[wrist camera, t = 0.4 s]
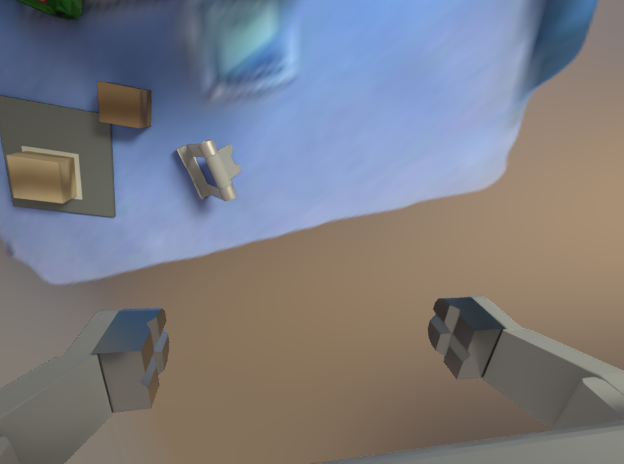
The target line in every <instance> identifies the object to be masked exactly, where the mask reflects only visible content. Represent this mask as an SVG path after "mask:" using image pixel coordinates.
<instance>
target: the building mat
mask: <svg viewBox="0 0 624 464" xmlns="http://www.w3.org/2000/svg"><path fill="white" fill-rule="evenodd" d="M0 134H1V140H2V146H3V151H4V157H5V162H6V168H7V174H8V179H9V185H10V191H11V196H12V202H13V206H20V207H29V208H38V209H47V210H56V211H65V212H74V213H83V214H92V215H101V216H110V217H115V216H116V215H115V194H114V173H113V152H112V130H111V123H105V122H100V121H99V113H95V112H90V111H84V110H79V109H73V108H68V107H62V106H56V105H51V104H45V103H40V102H34V101H29V100H23V99H18V98H12V97H7V96H1V95H0ZM23 151H32V152H39V153H46V154H53V155H60V156H66V157H73V158H74V163H75V174H76V185H77V195H78V196H76V197H74V198H72V199H70V200H68V201H66V202H65V203H55V202H46V201H38V200H29V199H21V198H14V196H13V190H12V184H11V179H10V173H9V167H8V161H7V156H6V155H9V154H14V153H19V152H23Z"/></svg>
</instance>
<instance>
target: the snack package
mask: <svg viewBox="0 0 624 464" xmlns="http://www.w3.org/2000/svg"><path fill="white" fill-rule="evenodd" d="M17 1H20V2H22V3H24V4H26V5H28V6H31V7H33V8H35V9H37V10H39V11H42V12H44V13H47V14H49V15H52V16H55V17H59V18H64V19H69V20H76V19H78V18H79V17H80V16H81V15H82V1H83V0H17Z"/></svg>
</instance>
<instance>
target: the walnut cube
mask: <svg viewBox="0 0 624 464" xmlns="http://www.w3.org/2000/svg"><path fill="white" fill-rule="evenodd" d="M97 89H98V105H99V121H100V122H105V123H111V124H117V125H122V126H128V127H134V128H140V129H141V128H145V127H149V126H151V91H150V90H146V89H141V88H136V87H131V86H126V85H121V84H116V83H109V82H101V81H97Z"/></svg>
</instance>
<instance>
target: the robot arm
mask: <svg viewBox="0 0 624 464" xmlns="http://www.w3.org/2000/svg"><path fill="white" fill-rule="evenodd" d="M433 310H434V312H435V314H436V315H435V316H434V317H433V318H432V319H431V320H430V322H429V326H428V336H429V339H430V342H431V344H432V346H433V347H434V348H435V350H436V351H437V352H439V353H441V354H443V355H444V363H445V364H446V365H447V367H448V368H449V369H450V371H451V372H452V374H453V375H454V377H455V378H456V379H457V380H460V379H474V378H475V379H476V378H483V380H484V381H485V382H487V383H488V384H490V385H491V386H492V387H493V388H495V389H496V390H498V391H499V392H501V393H502V394H503V395H504V396H506V397H507V398H509V399H510V400H511V401H513V402H514V403H515V404H517V405H518V406H519V407H521V408H522V409H524V410H525V411H526V412H528V413H529V414H531V415H532V416H533V417H534V418H536V419H537V420H539V421H540V422H541V423H543V424H544V425H545V426H547V427H548V428H550V429H551V430H549V431H542V432H535V433H528V434H520V435H513V436H506V437H499V438H492V439H484V440H477V441H470V442H463V443H456V444H449V445H441V446H434V447H427V448H420V449H413V450H405V451H398V452H391V453H383V454H376V455H369V456H362V457H354V458H347V459H339V460H332V461H325V462H318V463H310V464H624V371H623V370H620V369H618V368H616V367H614V366H611V365H609V364H607V363H605V362H602V361H600V360H598V359H596V358H593V357H591V356H589V355H586V354H584V353H582V352H579V351H577V350H575V349H573V348H571V347H568V346H566V345H564V344H562V343H559V342H557V341H555V340H552V339H550V338H548V337H546V336H543V335H541V334H539V333H536V332H534V331H532V330H530V329H527V328H525V329H523V328H522V327H520V326H519V325H518V324H517V323H516V322H515V321H513V320H512V319H511V318H510V317H508V316H507V315H506V314H505V313H504V312H503V311H502V310H500V309H499V308H498V307H497V306H496V305H494V304H493V303H492V302H491V301H490V300H488V299H487V298H486V297H483V296H471V297H464V298H463V297H462V298H439V299H438V300H437V301H436V302H435V305H434V308H433ZM165 323H166V315H165V311H164V309H162V308H152V309H151V308H150V309H149V308H146V309H105V310H100V311H98V312H96V313H95V315H94V316H93V317H92V319H91V320H90V321H89V323H88V324H87V325H86V326H85V328H84V329H83V331H82V332H81V333H80V334H79V336H78V337H77V338H76V340H75V341H74V343H73V344H72V345H71V346H70V348H69V349H68V350H67V352H66V353H65V354H64V356H63V357H55V358H53V359H51V360H49V361H48V362H46V363H45V364H42V365H41V366H39V367H37V368H36V369H34V370H32V371H30V372H29V373H27V374H25V375H24V376H22V377H20V378H18V379H17V380H15V381H13V382H11V383H10V384H8V385H7V386H5V387H3V388H1V389H0V464H64V463H65V462H66V461H67V460H68V459H69V458H70V457H71V456H72V455H73V454H74V453H75V452H76V451H77V450H78V449H79V448H80V447H81V446H82V445H83V444H84V443H85V442H86V441H87V440H88V439H89V438H90V437H91V436H92V435H93V434H94V433H95V432H96V431H97V430H98V429H99V428H100V427H101V426H102V425H103V424H104V423H105V422H106V421H107V420H108V419H109V418H110V417H111V416H112V413H116V412H124V411H132V410H140V409H148V408H152V405H153V402H154V399H155V396H156V393H157V390H158V387H159V378H158V375H159V374H160V373H161V372H163V370H165V366H166V363H167V359H168V353H169V336H168V333H167V332H165V331H164V330H163V328H164V326H165Z"/></svg>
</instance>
